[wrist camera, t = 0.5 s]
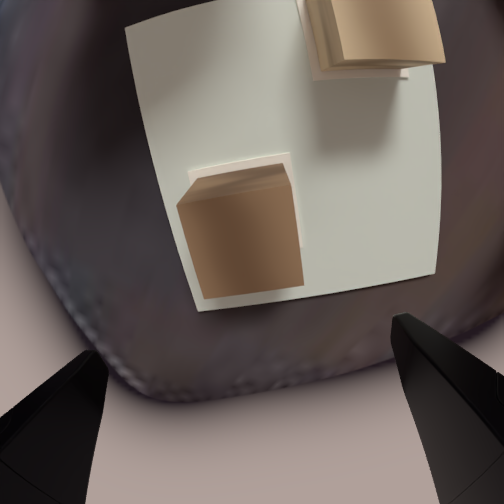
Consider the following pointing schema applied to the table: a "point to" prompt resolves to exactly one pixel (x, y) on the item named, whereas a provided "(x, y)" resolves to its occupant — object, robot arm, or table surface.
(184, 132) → the board
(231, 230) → the walnut block
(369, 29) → the oak block
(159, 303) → the table surface
